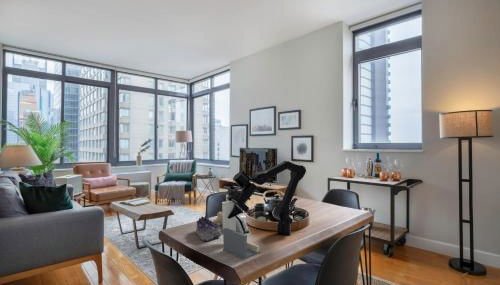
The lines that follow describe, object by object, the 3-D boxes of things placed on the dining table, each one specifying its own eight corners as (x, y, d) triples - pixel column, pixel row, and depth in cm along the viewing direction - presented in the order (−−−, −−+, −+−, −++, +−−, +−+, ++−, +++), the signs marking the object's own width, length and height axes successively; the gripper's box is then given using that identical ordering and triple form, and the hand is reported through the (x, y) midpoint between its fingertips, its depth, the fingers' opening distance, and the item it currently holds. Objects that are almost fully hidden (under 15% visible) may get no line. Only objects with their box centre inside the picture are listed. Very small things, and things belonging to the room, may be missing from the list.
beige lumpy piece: (208, 221, 150) (202, 218, 157) (213, 235, 151) (206, 231, 159) (224, 213, 155) (217, 210, 163) (228, 226, 157) (221, 222, 164)
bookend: (238, 244, 130) (238, 223, 130) (259, 252, 120) (259, 230, 120) (223, 250, 122) (222, 228, 122) (244, 259, 113) (243, 236, 113)
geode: (188, 232, 148) (190, 214, 149) (208, 231, 154) (209, 214, 155) (201, 242, 130) (203, 222, 132) (222, 241, 136) (224, 221, 137)
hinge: (250, 232, 146) (244, 216, 145) (243, 236, 145) (237, 220, 143) (238, 224, 162) (233, 209, 160) (231, 227, 160) (226, 213, 158)
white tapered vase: (233, 227, 136) (232, 200, 136) (236, 231, 131) (236, 203, 131) (222, 229, 134) (222, 202, 134) (226, 232, 129) (225, 204, 129)
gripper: (230, 180, 143) (210, 202, 138) (242, 185, 125) (220, 211, 121) (243, 193, 146) (225, 215, 141) (257, 200, 128) (236, 225, 124)
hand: (226, 216), depth 132 cm, fingers closed on white tapered vase, 5 cm apart
